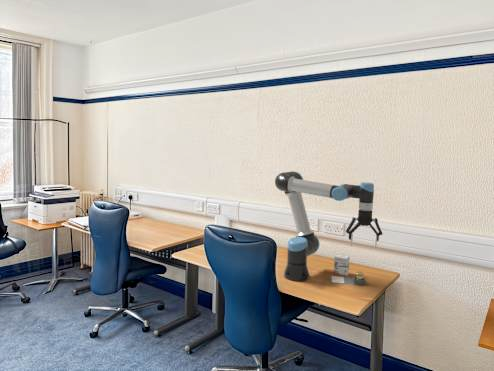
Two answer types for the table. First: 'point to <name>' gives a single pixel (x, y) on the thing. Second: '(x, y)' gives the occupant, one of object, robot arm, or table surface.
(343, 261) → the ink box
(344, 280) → the board
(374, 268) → the table surface
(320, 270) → the table surface
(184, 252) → the table surface
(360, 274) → the button
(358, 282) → the button housing
